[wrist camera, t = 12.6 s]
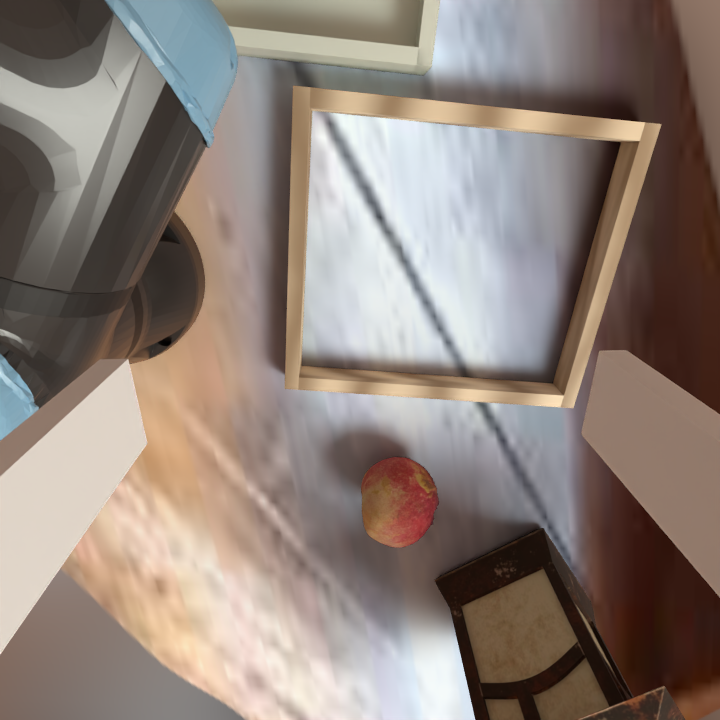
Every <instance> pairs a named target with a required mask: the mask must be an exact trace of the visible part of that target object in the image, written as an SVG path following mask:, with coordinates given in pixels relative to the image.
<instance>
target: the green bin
mask: <svg viewBox="0 0 720 720" xmlns="http://www.w3.org/2000/svg"><path fill="white" fill-rule="evenodd" d="M212 1H213V3H214V4H215V5H216V7H217V8H218V10H219V11H220V13H221V14H222V16H223V18H224V20H225V22H226V23H227V25H228V27H229V29H230V31H231V33H232V35H233V38H234V41H235V45H236V49H237V55H238V56H247V57H256V58H266V59H275V60H284V61H293V62H303V63H312V64H321V65H330V66H340V67H349V68H358V69H367V70H377V71H386V72H395V73H404V74H414V75H423V76H424V75H425V73H426V72H427V71H428V70H429V69H430V68H431V67H432V59H433V51H434V43H435V36H436V28H437V20H438V12H439V4H440V0H212Z"/></svg>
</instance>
